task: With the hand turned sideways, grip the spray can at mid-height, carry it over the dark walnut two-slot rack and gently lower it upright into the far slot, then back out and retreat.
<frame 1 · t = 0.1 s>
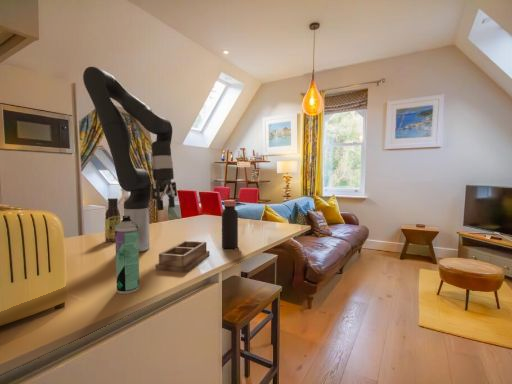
hand: (166, 208, 105), 17 cm above the counter, tool pointing down, fingers open, 8 cm apart
rack: (184, 261, 94), on the counter
spray can: (128, 290, 71), on the counter
vinegar: (229, 247, 113), on the counter
sauce bottle: (113, 241, 123), on the counter
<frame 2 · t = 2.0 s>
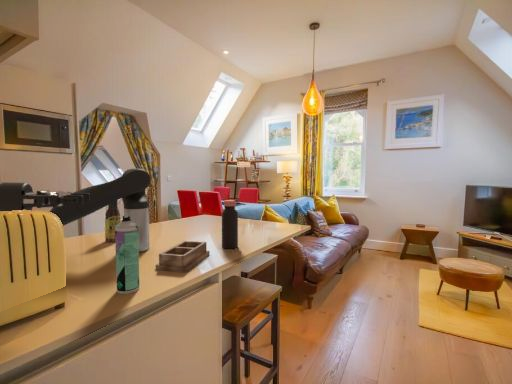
hand: (86, 198, 66), 25 cm above the counter, tool horizontal, fingers open, 8 cm apart
nothing on the counter moved.
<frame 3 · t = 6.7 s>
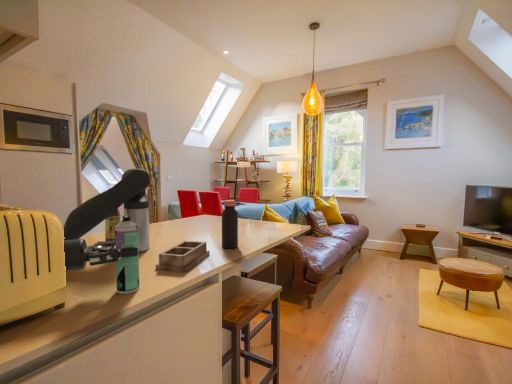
hand: (137, 248, 71), 11 cm above the counter, tool horizontal, fingers closed on spray can, 5 cm apart
spray can: (128, 290, 71), on the counter, touching gripper
everything else where it was.
when the fingers open (14 cm above the counter, at t = 12.4 s): spray can drops 2 cm, resting on rack.
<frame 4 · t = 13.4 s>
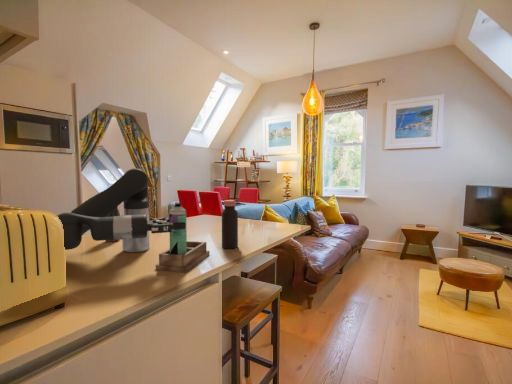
hand: (183, 223, 89), 14 cm above the counter, tool horizontal, fingers open, 8 cm apart
spray can: (178, 261, 90), point 1 cm above the counter, touching rack
everything else where it was.
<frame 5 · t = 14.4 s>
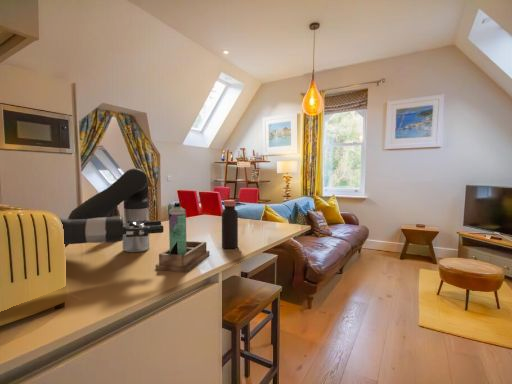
hand: (162, 226, 86), 14 cm above the counter, tool horizontal, fingers open, 8 cm apart
nothing on the counter moved.
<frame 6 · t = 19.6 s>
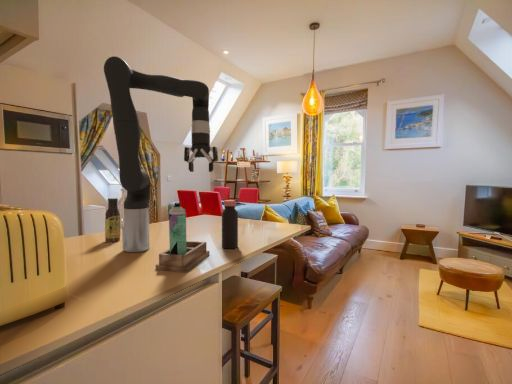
hand: (201, 171, 111), 32 cm above the counter, tool pointing down, fingers open, 8 cm apart
nothing on the counter moved.
at the end: spray can 0.1 cm from the target spot on the rack, point 1.3 cm above the rack's base; spray can tilted 0°; the gripper is holding nothing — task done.
